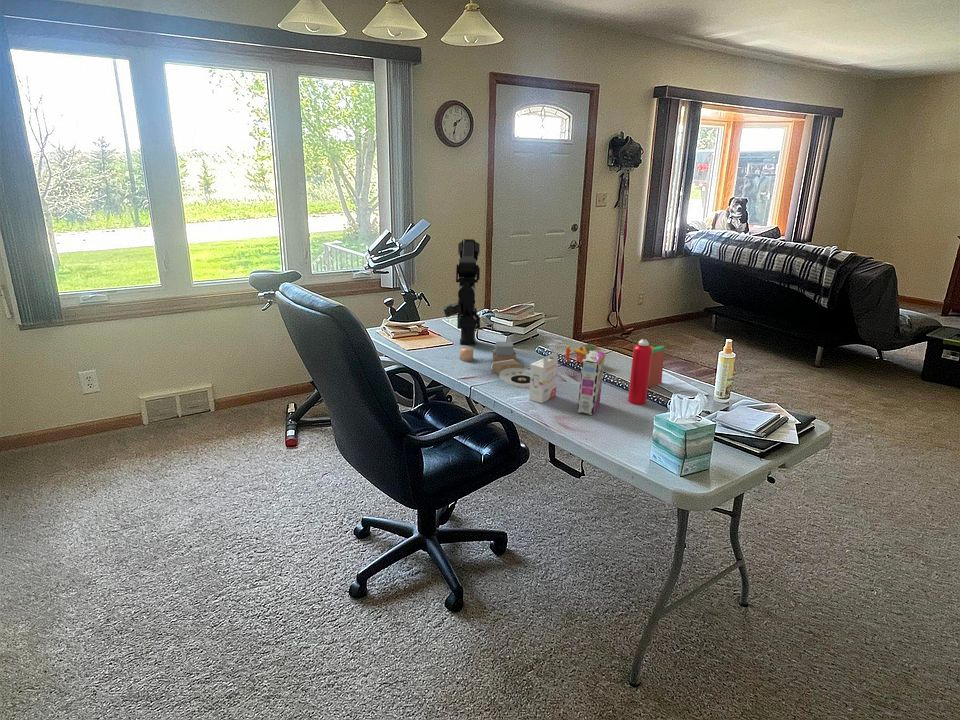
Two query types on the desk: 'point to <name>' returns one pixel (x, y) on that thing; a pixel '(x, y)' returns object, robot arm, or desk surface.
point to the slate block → (504, 348)
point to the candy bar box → (591, 382)
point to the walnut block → (503, 357)
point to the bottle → (640, 373)
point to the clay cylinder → (466, 354)
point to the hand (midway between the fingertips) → (466, 338)
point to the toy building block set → (655, 366)
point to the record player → (512, 373)
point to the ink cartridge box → (543, 378)
